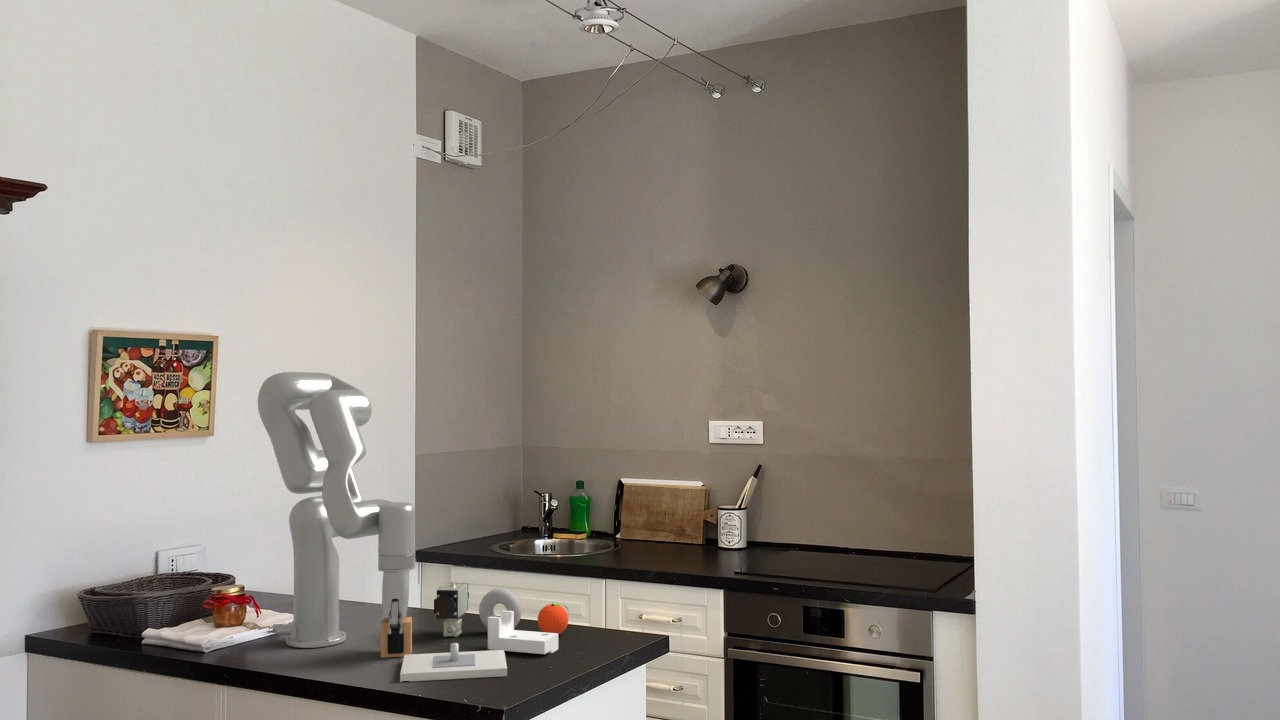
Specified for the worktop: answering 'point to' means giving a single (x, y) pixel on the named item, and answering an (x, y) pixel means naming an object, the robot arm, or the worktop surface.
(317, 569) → the robot arm
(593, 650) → the worktop surface
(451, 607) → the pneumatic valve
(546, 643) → the bracket
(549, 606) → the clementine
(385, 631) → the block
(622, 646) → the worktop surface
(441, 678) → the plate
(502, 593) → the donut
